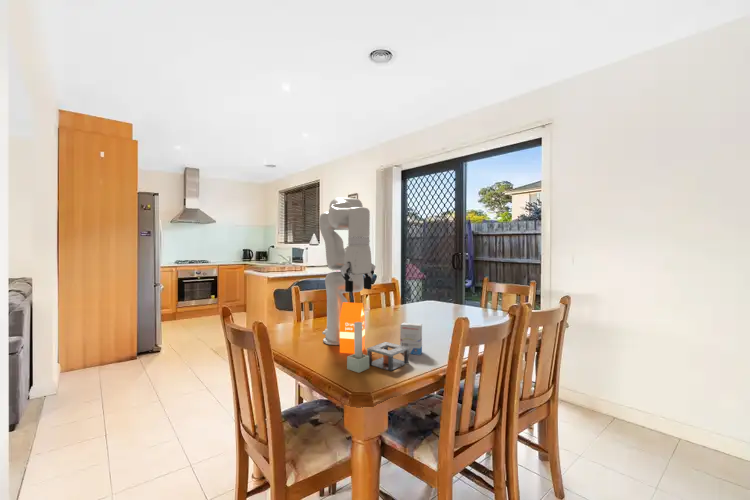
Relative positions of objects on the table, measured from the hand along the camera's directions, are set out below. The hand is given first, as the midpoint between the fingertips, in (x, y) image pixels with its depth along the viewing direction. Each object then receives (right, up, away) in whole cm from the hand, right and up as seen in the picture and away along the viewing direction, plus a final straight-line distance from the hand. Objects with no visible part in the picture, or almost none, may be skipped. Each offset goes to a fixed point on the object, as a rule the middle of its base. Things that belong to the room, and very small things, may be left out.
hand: (358, 290), depth 126 cm
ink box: (+21, -28, +20) cm, 40 cm away
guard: (+11, -28, +6) cm, 31 cm away
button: (+11, -28, +6) cm, 30 cm away
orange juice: (-4, -28, +22) cm, 35 cm away
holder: (0, -28, +1) cm, 28 cm away
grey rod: (0, -27, +1) cm, 27 cm away
